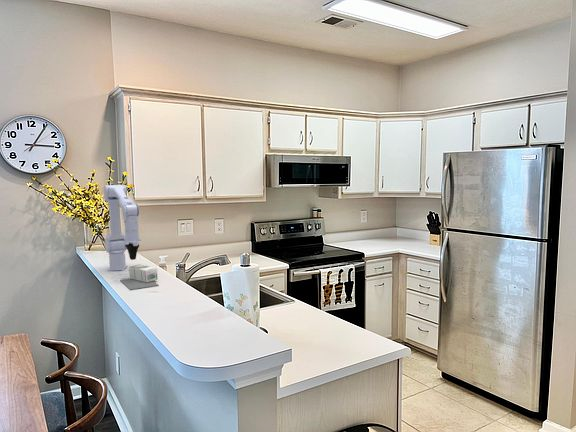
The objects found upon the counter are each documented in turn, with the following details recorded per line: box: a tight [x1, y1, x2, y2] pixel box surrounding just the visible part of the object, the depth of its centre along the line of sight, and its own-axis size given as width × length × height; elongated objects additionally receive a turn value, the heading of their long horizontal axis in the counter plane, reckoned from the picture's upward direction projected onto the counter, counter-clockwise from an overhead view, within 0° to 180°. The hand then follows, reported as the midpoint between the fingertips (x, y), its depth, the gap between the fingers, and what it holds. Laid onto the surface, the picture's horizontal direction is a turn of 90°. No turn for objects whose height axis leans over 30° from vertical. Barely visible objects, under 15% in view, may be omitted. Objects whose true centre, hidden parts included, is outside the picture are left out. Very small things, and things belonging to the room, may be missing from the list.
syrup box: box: [128, 264, 159, 282], centre depth 192 cm, size 6×6×14 cm
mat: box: [119, 277, 160, 291], centre depth 187 cm, size 20×12×1 cm, turn 33°
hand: (132, 259), depth 193 cm, fingers closed
